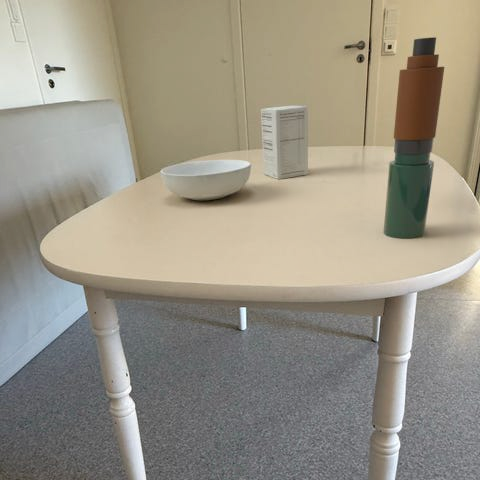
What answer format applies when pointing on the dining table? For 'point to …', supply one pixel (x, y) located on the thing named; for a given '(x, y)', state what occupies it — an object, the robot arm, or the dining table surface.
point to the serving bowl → (206, 178)
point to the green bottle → (408, 189)
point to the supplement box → (285, 141)
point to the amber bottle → (419, 93)
